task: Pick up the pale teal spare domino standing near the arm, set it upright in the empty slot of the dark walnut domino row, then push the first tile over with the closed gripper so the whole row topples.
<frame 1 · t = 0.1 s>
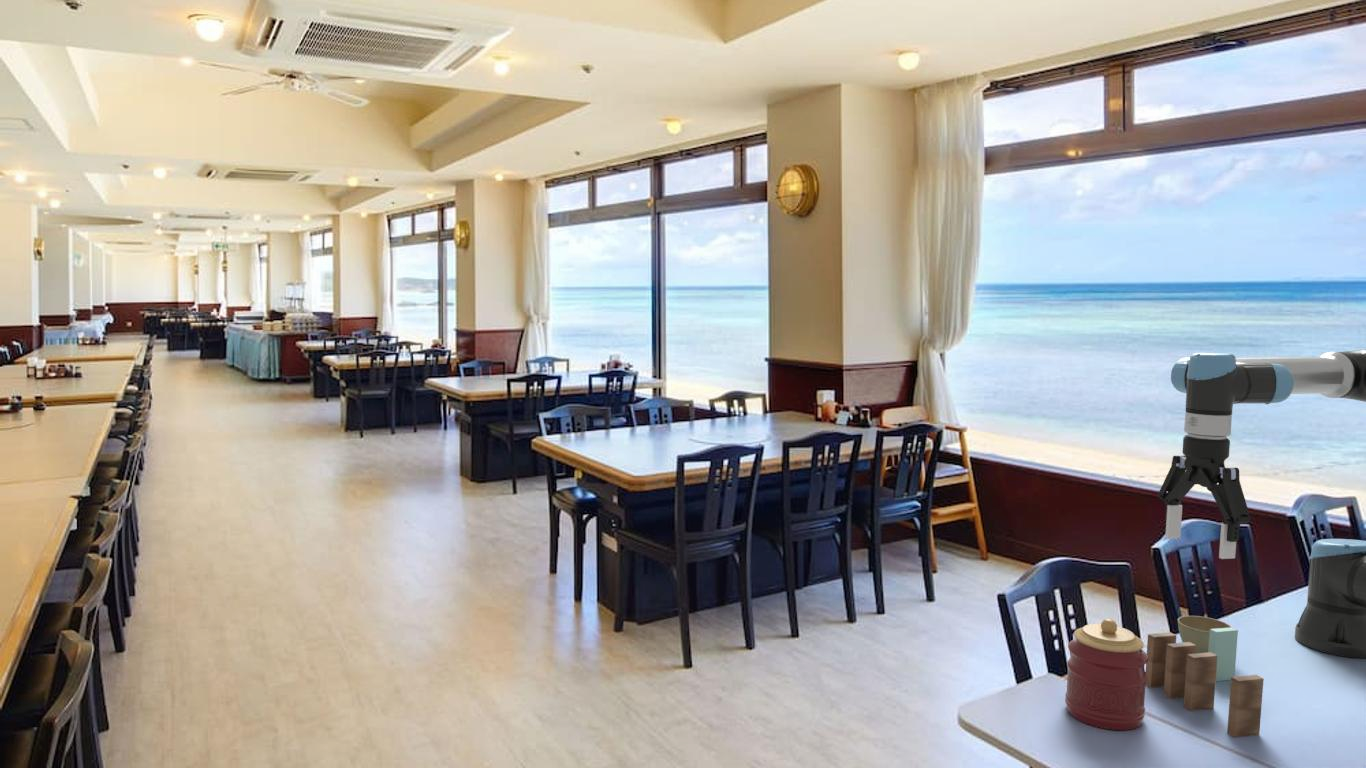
hand: (1198, 547, 170), 28 cm above the table, tool pointing down, fingers open, 13 cm apart
domino 5: (1243, 733, 156), on the table
flower pot: (1202, 657, 189), on the table
domino 3: (1198, 707, 165), on the table
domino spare: (1220, 678, 178), on the table
domino 1: (1158, 684, 175), on the table
canister: (1103, 715, 162), on the table
domino 2: (1178, 695, 170), on the table
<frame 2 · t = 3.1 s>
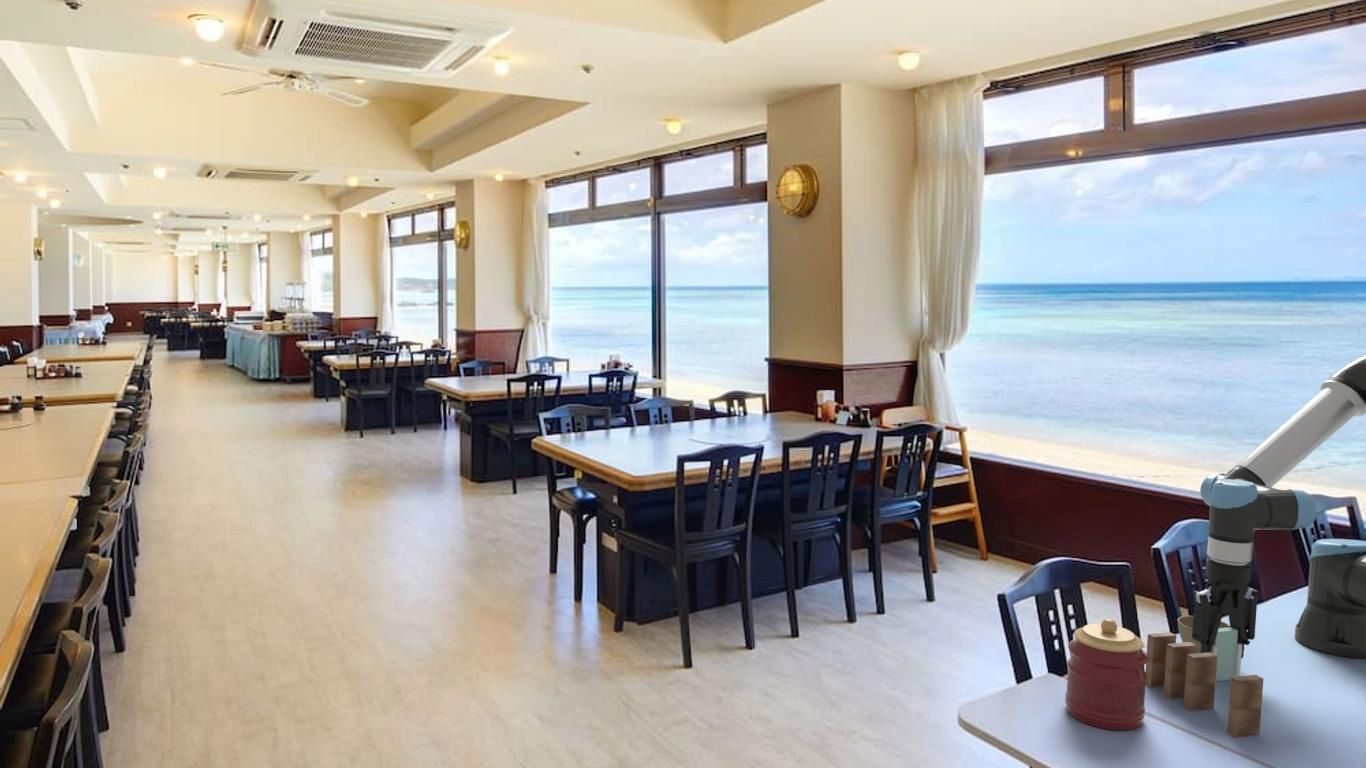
hand: (1220, 674, 178), 1 cm above the table, tool pointing down, fingers closed on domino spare, 5 cm apart
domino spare: (1220, 678, 178), on the table, touching gripper
everything else where it was.
when the fingers open (2 cm above the table, at t = 8.1 s): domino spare stays where it is, on the table.
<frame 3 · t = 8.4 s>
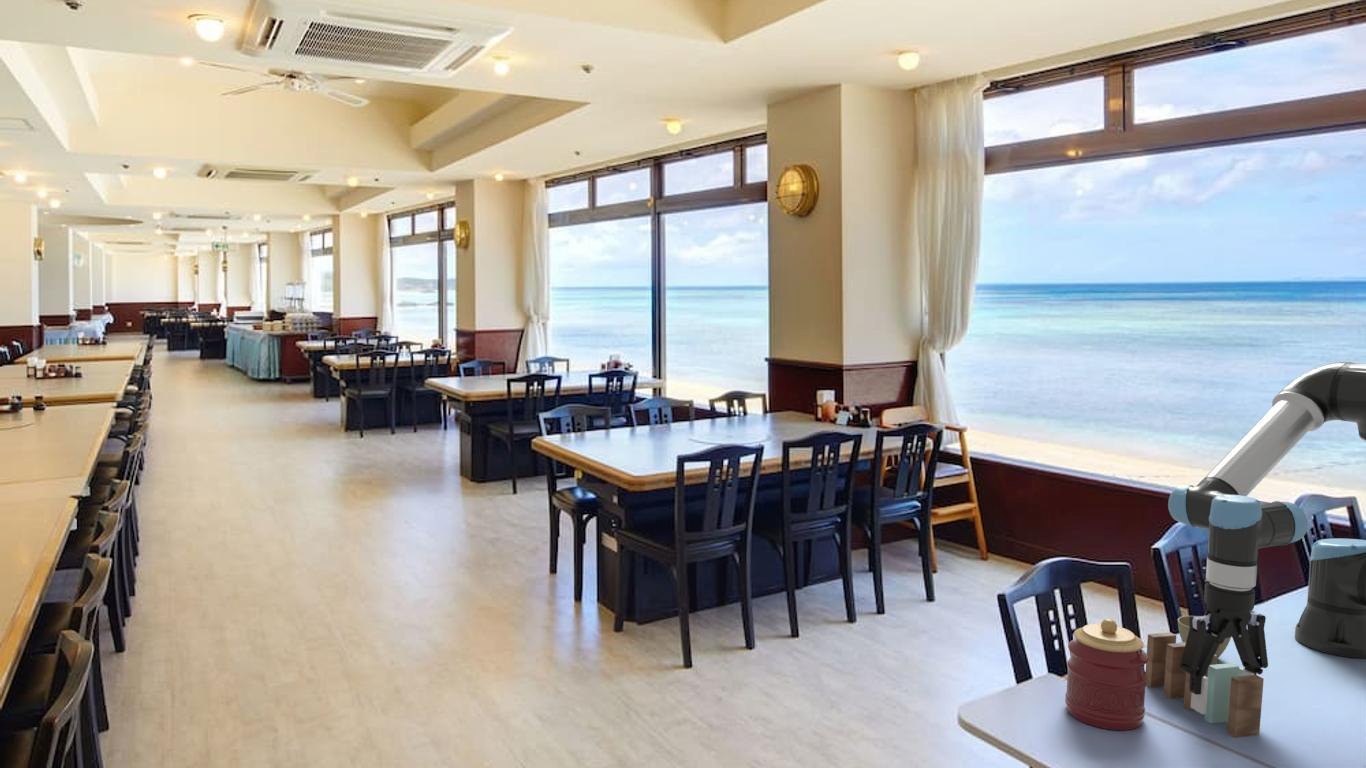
hand: (1221, 708, 160), 2 cm above the table, tool pointing down, fingers open, 9 cm apart
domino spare: (1220, 720, 161), on the table
everything else where it was.
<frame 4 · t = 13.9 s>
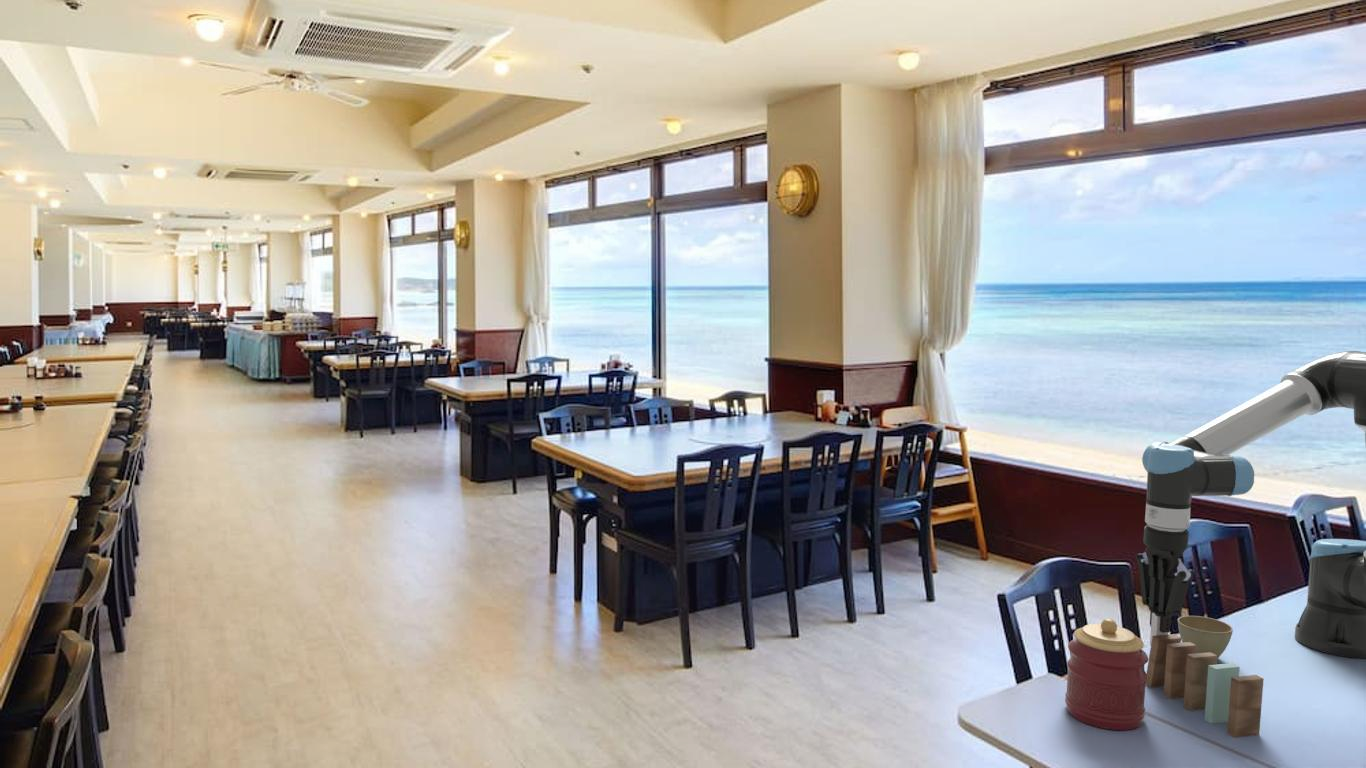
hand: (1158, 646, 175), 7 cm above the table, tool pointing down, fingers closed
domino 1: (1158, 684, 175), on the table, tilted 7°
everything else where it was.
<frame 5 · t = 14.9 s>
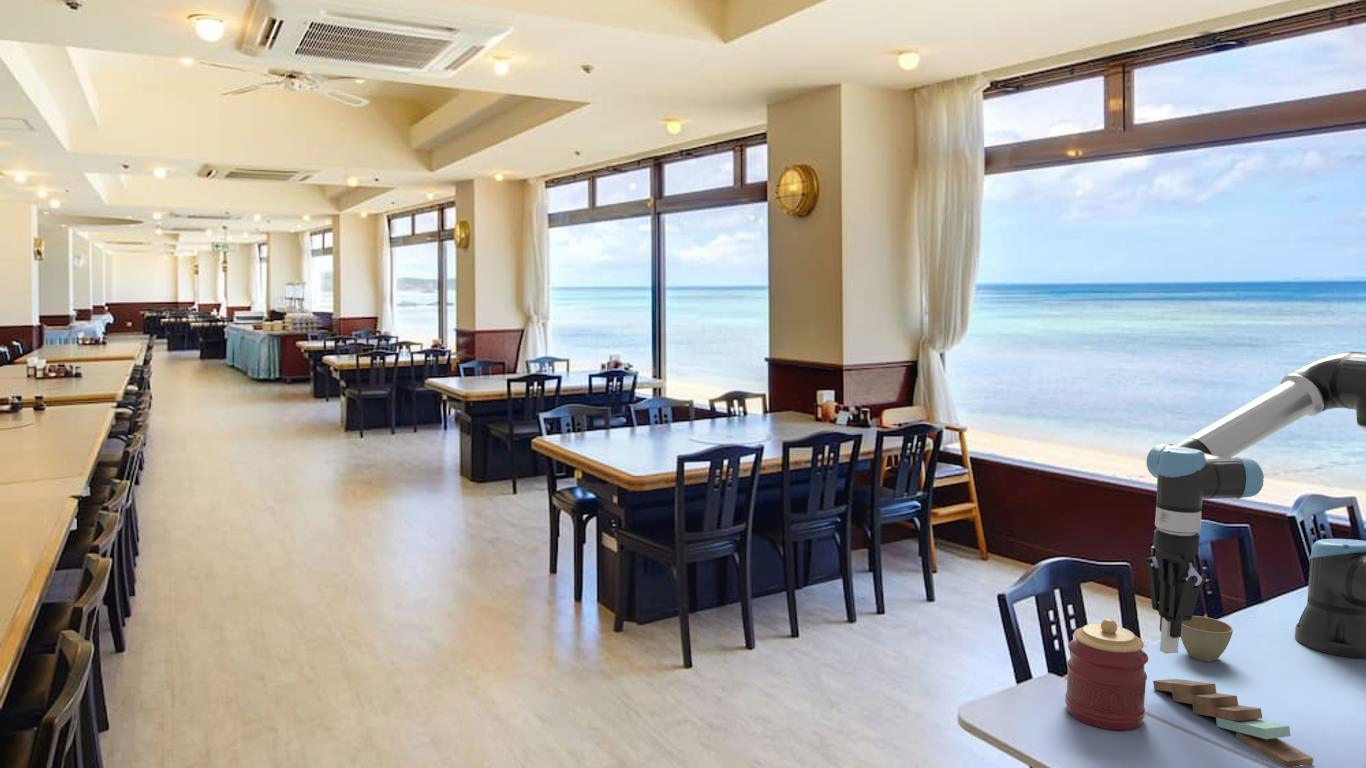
hand: (1168, 651, 173), 7 cm above the table, tool pointing down, fingers closed
domino 5: (1248, 734, 155), on the table, tilted 90°, touching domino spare
domino 3: (1205, 707, 164), point 1 cm above the table, tilted 71°, touching domino 2, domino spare
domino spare: (1228, 720, 159), point 1 cm above the table, tilted 75°, touching domino 3, domino 5
domino 1: (1165, 684, 174), point 1 cm above the table, tilted 71°, touching domino 2
domino 2: (1184, 695, 169), point 1 cm above the table, tilted 71°, touching domino 1, domino 3
everything else where it was.
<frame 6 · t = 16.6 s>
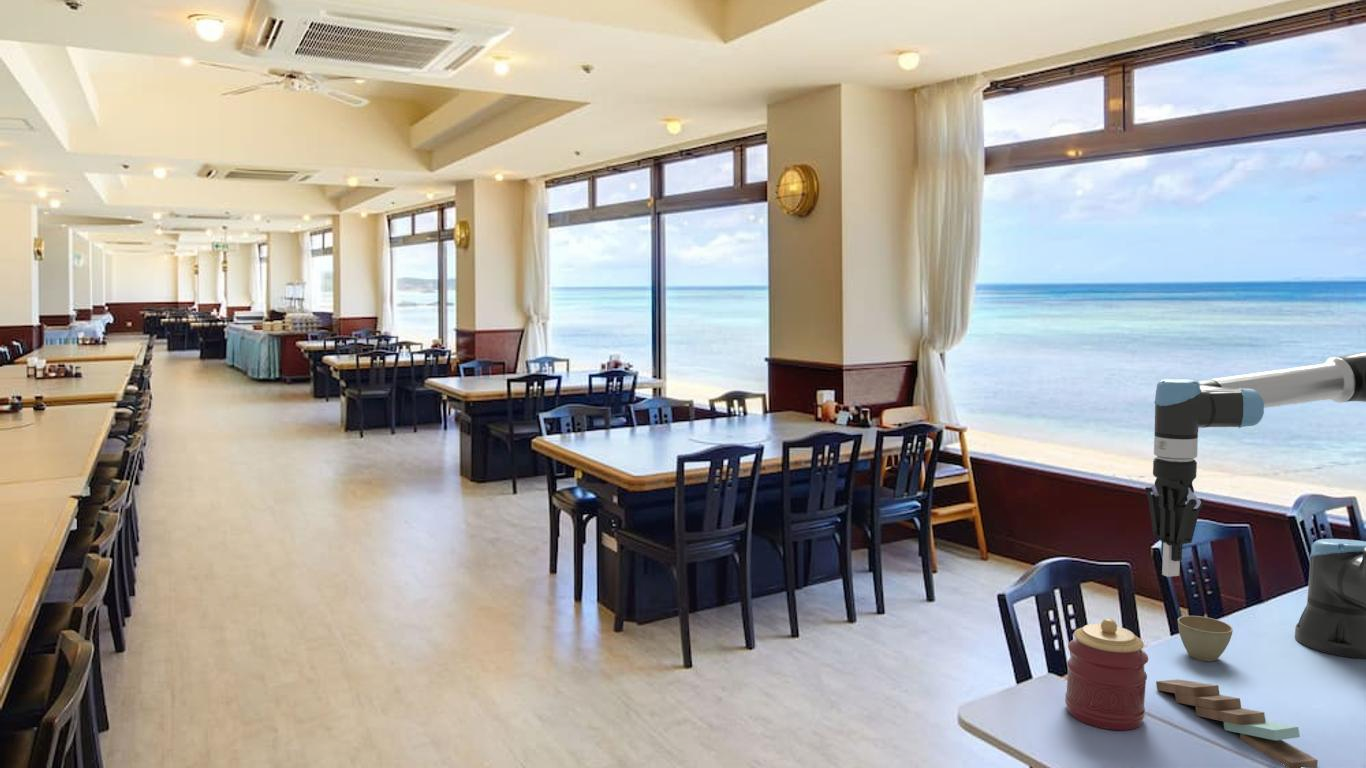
hand: (1170, 575, 180), 20 cm above the table, tool pointing down, fingers closed
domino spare: (1235, 723, 158), point 1 cm above the table, tilted 73°, touching domino 3, domino 5
domino 1: (1168, 684, 173), point 1 cm above the table, tilted 72°, touching domino 2
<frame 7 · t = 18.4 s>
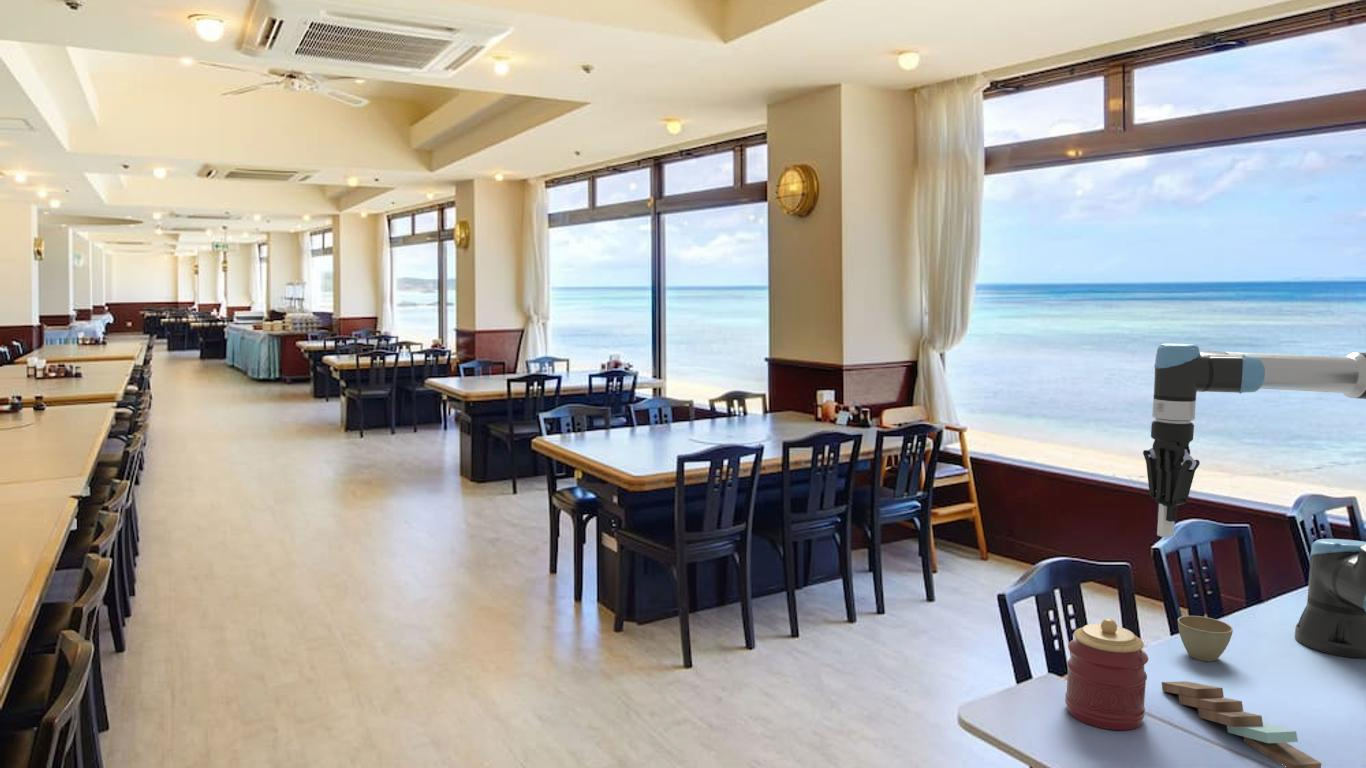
hand: (1165, 535, 184), 26 cm above the table, tool pointing down, fingers closed
domino 5: (1256, 738, 153), on the table, tilted 90°
domino 3: (1212, 712, 162), point 1 cm above the table, tilted 73°, touching domino 2, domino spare
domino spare: (1241, 726, 156), point 1 cm above the table, tilted 73°, touching domino 3
domino 1: (1174, 686, 173), point 1 cm above the table, tilted 73°, touching domino 2
at the end: domino 5 tilted 90°; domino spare tilted 73°; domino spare 2.8 cm from the domino 5 (horizontally) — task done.
